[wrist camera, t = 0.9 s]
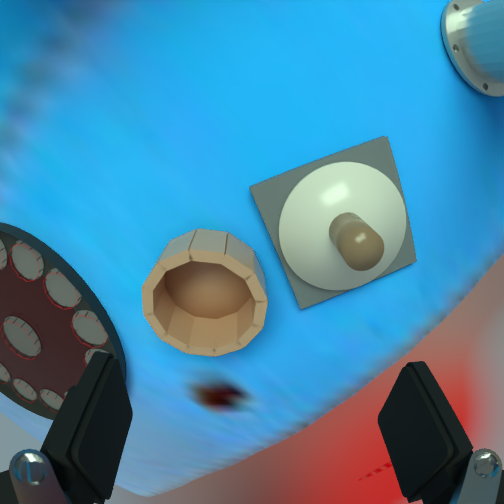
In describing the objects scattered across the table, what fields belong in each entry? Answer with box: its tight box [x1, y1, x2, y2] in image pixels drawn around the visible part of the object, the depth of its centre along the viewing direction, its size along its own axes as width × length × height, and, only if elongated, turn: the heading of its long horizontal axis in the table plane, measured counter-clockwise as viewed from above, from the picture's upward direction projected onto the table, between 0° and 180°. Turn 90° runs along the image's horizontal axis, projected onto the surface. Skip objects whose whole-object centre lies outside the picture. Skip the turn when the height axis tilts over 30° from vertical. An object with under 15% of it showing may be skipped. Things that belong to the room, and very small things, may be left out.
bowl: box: [142, 229, 268, 357], centre depth 30 cm, size 11×11×6 cm
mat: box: [250, 136, 417, 309], centre depth 31 cm, size 14×14×1 cm
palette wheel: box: [0, 223, 126, 420], centre depth 36 cm, size 35×35×3 cm
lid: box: [278, 161, 406, 290], centre depth 28 cm, size 13×13×6 cm
